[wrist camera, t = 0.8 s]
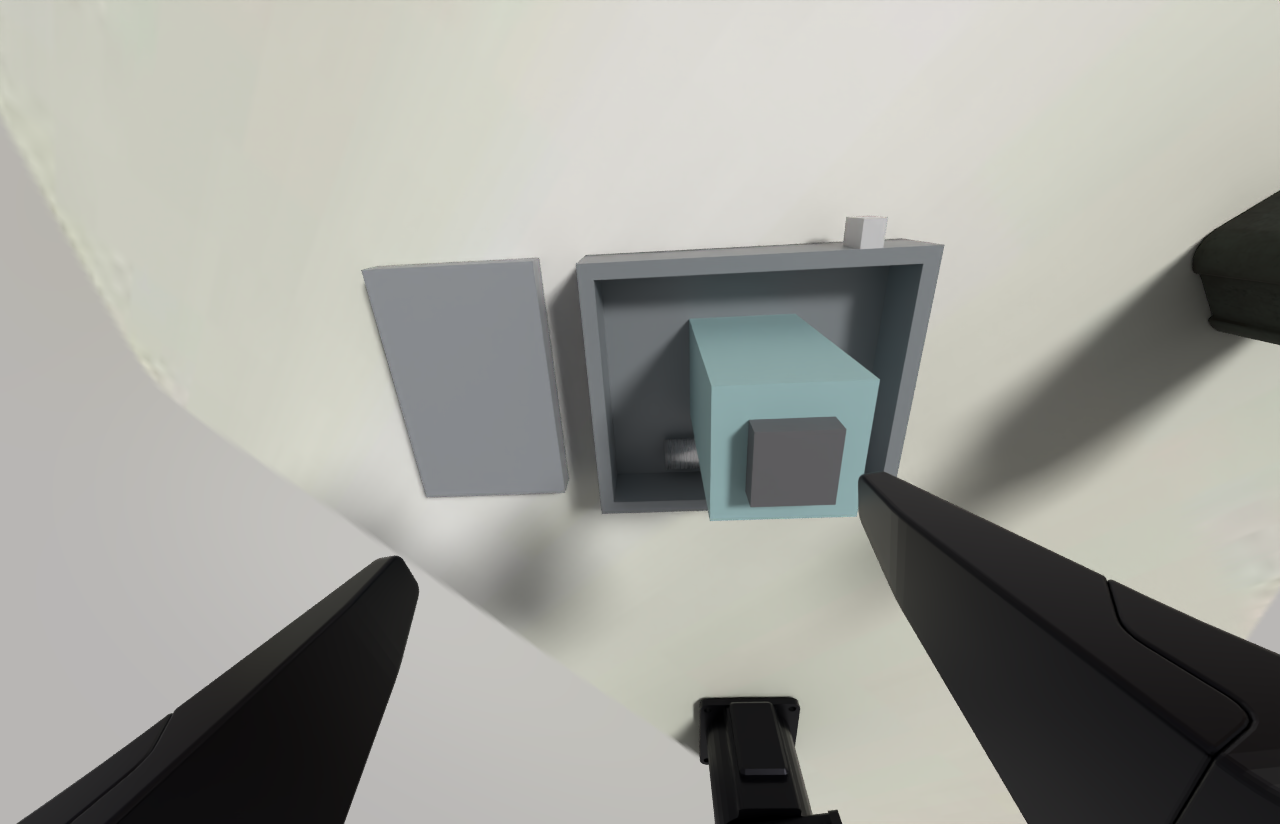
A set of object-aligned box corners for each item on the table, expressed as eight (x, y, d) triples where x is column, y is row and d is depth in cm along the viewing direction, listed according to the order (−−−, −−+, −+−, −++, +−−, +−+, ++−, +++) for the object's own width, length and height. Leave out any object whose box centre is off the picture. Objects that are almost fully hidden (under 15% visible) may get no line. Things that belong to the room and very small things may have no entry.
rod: (809, 455, 23) (818, 469, 21) (665, 460, 23) (665, 474, 22) (811, 429, 22) (821, 442, 21) (664, 434, 22) (664, 448, 21)
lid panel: (568, 479, 24) (565, 492, 23) (436, 483, 24) (426, 497, 23) (539, 257, 20) (532, 261, 19) (377, 266, 20) (361, 270, 19)
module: (787, 410, 22) (867, 533, 14) (690, 413, 22) (712, 537, 14) (795, 313, 20) (894, 390, 12) (689, 318, 20) (715, 397, 12)
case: (862, 469, 24) (891, 504, 21) (607, 478, 24) (601, 513, 21) (906, 212, 19) (950, 213, 16) (583, 229, 19) (572, 234, 16)
